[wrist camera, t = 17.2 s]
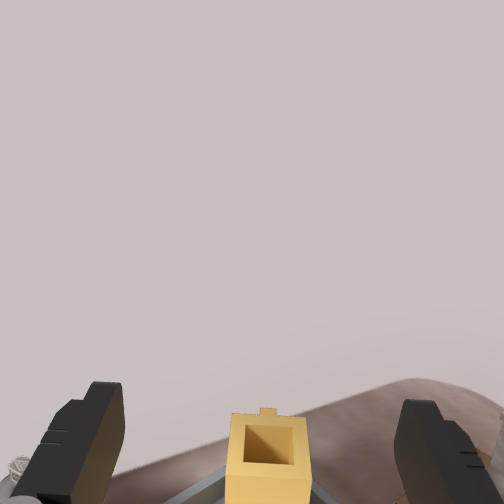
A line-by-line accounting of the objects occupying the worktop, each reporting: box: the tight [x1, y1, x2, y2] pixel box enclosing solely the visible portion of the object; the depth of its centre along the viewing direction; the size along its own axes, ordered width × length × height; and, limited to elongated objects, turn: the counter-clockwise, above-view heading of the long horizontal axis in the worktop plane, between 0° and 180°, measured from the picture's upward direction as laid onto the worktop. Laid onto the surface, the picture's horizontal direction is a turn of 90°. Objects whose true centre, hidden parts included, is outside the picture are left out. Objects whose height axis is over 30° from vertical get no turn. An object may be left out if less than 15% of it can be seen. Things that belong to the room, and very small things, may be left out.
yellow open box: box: [225, 408, 312, 504], centre depth 33 cm, size 7×5×10 cm
